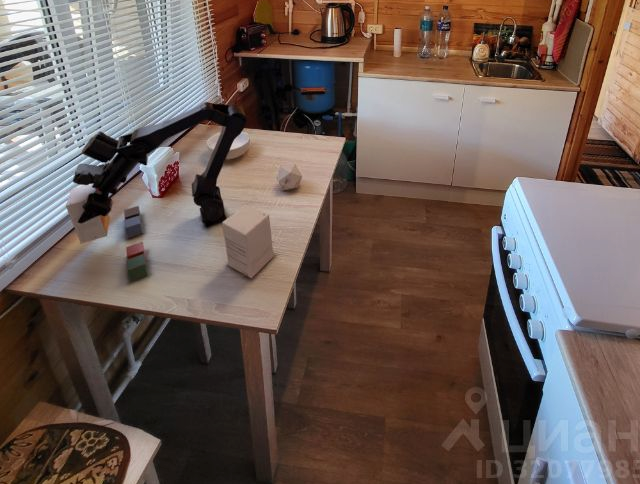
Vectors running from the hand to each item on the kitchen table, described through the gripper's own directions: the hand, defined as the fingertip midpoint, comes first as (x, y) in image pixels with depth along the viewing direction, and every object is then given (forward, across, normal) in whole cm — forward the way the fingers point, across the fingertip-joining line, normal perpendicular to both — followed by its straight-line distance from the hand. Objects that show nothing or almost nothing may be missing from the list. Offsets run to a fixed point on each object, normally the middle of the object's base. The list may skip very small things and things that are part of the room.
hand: (82, 212), depth 104 cm
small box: (+4, 0, +6) cm, 7 cm away
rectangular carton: (-18, +22, +39) cm, 48 cm away
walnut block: (+3, -9, +16) cm, 18 cm away
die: (-31, -6, +52) cm, 61 cm away
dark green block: (+1, +14, +18) cm, 23 cm away
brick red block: (+2, +9, +18) cm, 20 cm away
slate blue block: (+3, -3, +16) cm, 17 cm away
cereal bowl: (-19, -38, +40) cm, 58 cm away
